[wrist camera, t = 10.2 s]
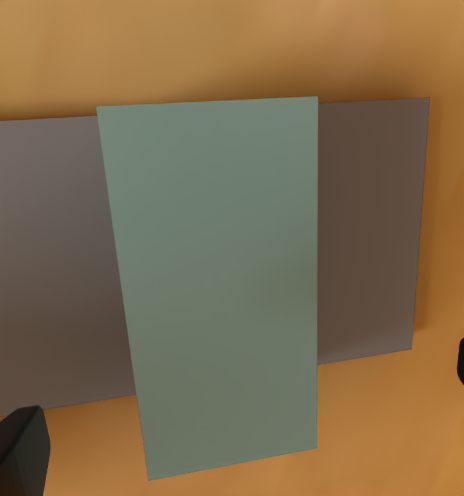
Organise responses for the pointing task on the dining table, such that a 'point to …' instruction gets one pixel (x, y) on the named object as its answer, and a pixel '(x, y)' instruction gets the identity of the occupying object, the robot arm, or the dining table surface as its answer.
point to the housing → (217, 274)
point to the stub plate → (106, 264)
